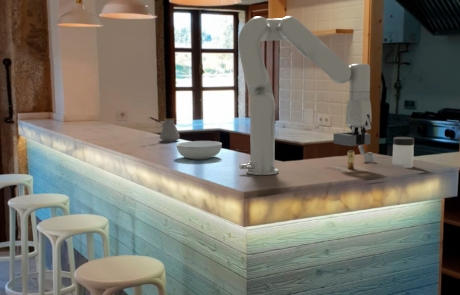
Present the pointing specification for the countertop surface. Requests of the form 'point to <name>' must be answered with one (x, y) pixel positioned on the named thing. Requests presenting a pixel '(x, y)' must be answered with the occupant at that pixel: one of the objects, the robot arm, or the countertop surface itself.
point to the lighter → (367, 155)
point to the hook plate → (346, 170)
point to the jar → (403, 151)
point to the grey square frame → (349, 139)
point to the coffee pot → (168, 130)
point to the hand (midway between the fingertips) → (358, 143)
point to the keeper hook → (350, 159)
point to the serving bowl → (199, 149)
